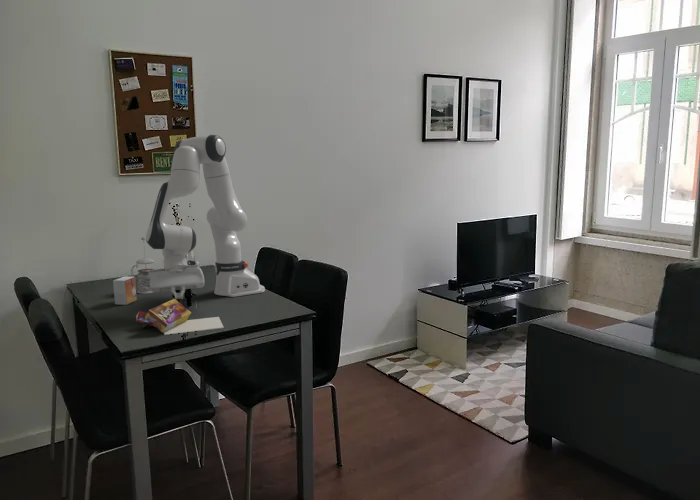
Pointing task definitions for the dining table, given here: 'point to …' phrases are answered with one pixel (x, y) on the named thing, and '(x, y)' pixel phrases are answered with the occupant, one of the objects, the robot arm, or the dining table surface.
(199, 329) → the felt mat
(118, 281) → the small box
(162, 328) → the candy box
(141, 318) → the geometric puzzle
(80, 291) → the dining table surface
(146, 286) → the french press
